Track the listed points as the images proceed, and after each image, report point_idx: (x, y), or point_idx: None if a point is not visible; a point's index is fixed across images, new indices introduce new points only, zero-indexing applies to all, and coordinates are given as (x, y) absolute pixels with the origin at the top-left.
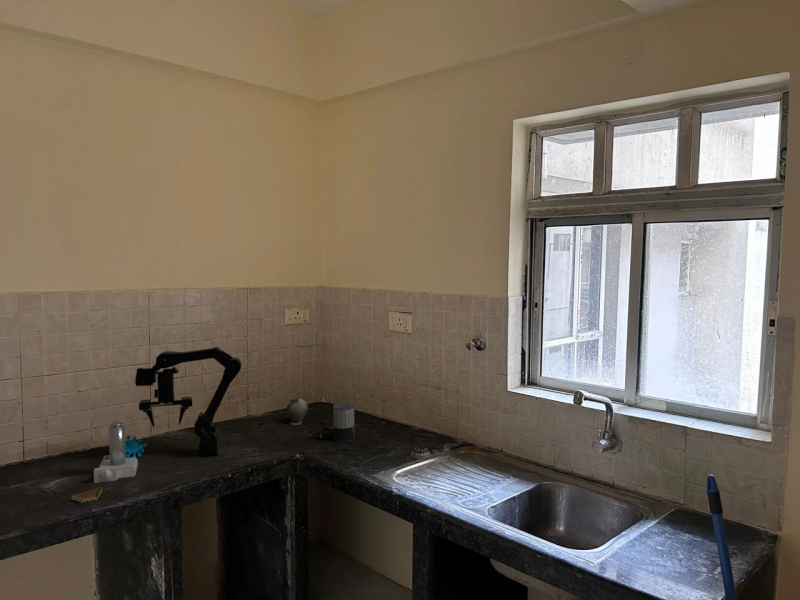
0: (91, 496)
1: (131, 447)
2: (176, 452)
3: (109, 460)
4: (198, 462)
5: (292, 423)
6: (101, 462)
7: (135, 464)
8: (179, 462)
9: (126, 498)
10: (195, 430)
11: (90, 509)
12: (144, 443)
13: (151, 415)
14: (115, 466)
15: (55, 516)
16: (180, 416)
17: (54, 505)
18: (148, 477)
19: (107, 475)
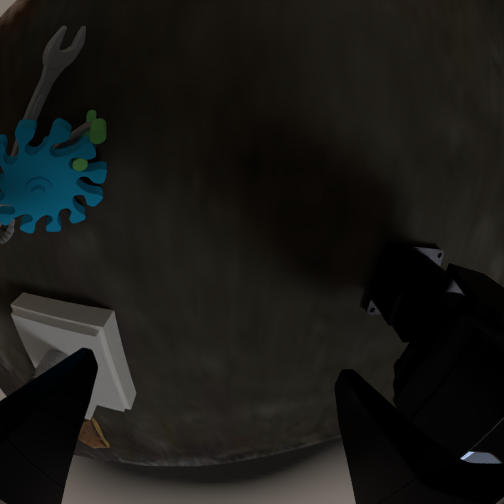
0: (98, 444)
1: (41, 197)
2: (282, 183)
3: (28, 326)
4: (338, 357)
5: None
6: (12, 307)
7: (117, 379)
8: (275, 338)
9: (156, 458)
10: (398, 403)
11: (116, 458)
12: (89, 137)
13: (60, 485)
14: None
15: (82, 450)
16: (359, 477)
17: None
18: (175, 411)
19: None
